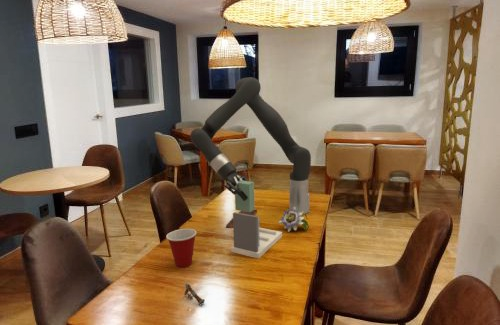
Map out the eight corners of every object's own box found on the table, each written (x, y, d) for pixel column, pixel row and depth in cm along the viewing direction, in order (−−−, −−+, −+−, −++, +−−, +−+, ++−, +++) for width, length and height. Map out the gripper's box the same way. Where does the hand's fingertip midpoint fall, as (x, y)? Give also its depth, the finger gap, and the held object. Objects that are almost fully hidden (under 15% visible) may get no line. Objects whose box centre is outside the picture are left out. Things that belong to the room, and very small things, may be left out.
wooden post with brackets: (185, 290, 113) (188, 280, 111) (201, 309, 109) (205, 299, 107) (180, 293, 112) (183, 283, 110) (197, 311, 108) (200, 301, 106)
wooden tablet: (241, 207, 188) (260, 206, 185) (242, 211, 189) (260, 210, 186) (224, 226, 163) (244, 226, 160) (224, 231, 164) (245, 230, 161)
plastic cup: (181, 254, 139) (180, 225, 137) (204, 260, 134) (202, 230, 131) (161, 266, 130) (159, 235, 128) (184, 274, 125) (182, 241, 122)
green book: (240, 206, 155) (239, 180, 153) (254, 209, 152) (253, 181, 149) (235, 209, 152) (234, 182, 149) (250, 212, 149) (249, 184, 146)
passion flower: (289, 242, 160) (273, 221, 159) (295, 229, 169) (280, 209, 168) (309, 233, 154) (293, 211, 153) (314, 220, 164) (299, 199, 162)
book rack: (257, 231, 159) (256, 196, 156) (282, 236, 154) (282, 200, 150) (231, 251, 141) (230, 213, 137) (258, 258, 135) (258, 218, 131)
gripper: (218, 164, 145) (245, 197, 142) (237, 157, 157) (262, 188, 154) (208, 176, 149) (234, 208, 146) (227, 168, 161) (251, 198, 158)
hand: (248, 197), depth 150 cm, fingers closed on green book, 4 cm apart
